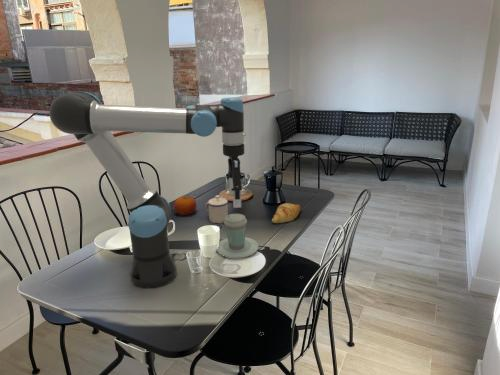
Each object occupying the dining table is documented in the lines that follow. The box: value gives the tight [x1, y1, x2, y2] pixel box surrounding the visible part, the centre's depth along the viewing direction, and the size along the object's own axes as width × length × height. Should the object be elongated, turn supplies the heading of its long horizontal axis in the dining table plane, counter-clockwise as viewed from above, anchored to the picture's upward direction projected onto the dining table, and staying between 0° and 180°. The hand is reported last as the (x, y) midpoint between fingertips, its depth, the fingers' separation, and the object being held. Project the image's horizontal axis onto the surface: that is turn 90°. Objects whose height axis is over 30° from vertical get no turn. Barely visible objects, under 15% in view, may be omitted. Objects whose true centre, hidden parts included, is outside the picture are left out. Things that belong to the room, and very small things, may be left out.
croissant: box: [271, 202, 302, 224], centre depth 169 cm, size 21×10×8 cm, turn 140°
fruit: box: [173, 195, 197, 216], centre depth 175 cm, size 11×10×8 cm
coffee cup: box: [223, 213, 248, 250], centre depth 138 cm, size 9×8×12 cm
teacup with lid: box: [205, 194, 229, 224], centre depth 167 cm, size 12×9×12 cm
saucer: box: [216, 236, 259, 259], centre depth 141 cm, size 16×16×2 cm
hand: (235, 200), depth 135 cm, fingers open, 13 cm apart
